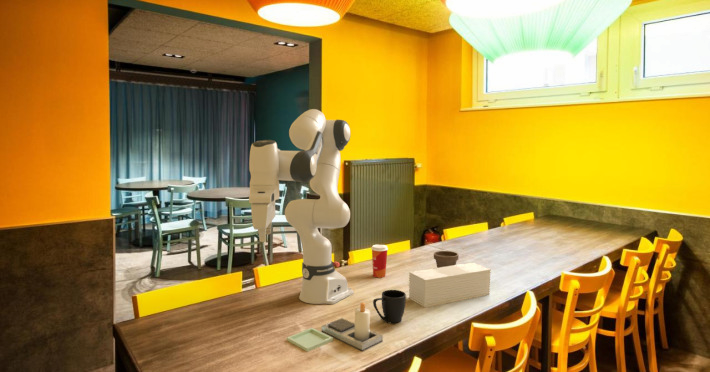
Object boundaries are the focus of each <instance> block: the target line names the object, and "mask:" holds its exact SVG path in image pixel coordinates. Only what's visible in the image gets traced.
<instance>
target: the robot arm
mask: <svg viewBox="0 0 710 372" xmlns="http://www.w3.org/2000/svg"><path fill="white" fill-rule="evenodd" d="M325 116H326V115H325V114H324V112H322V111H320V110H319V109H316V108H312V109H311V108H310V109H308V110H306V111H304V112H303V113H301V114H300V115H299V116H298V117H297V118H296V119H295V120H294V121H293V122H292V123H291V125H290V128H289V130H288V134H289V135H288V136H289V139H290V141H291V143H292V144H293V145H294V146H295V147H296V148H297V149H299V150H281V149H280V148H278V144H277V142H276V141H275V140H272V139H263V140H257V141H254V142H252V143H251V146H250V151H249V160H248V161H249V167H248V170H249V172H250V179H249V180H250V181H249V197H248V203H249V204H251V205H250V210H251V221H252V226H253V229H254V230H257V232H258V233H257V234H258V238H259V242H260V243H265V242H266V241H267V235H271V234H272V224H273V220H274V218H275V217H276V201H277V200H279V199H280V181H286V182H287V181H289V182H290V181H291V182H299V183H308V182H309V187H310V189H311V190H312V191H313V192H314V193H316V195H319V196H320V198H318V199H313V198H312V199H310V198H299V199H294V200H290V201H289V202H288V203H287V205H286V207H285V210H284V217H285V219H286V222H287V223H288V224H289V225H291V227H292V228H294V229H295V231H296V233H297V234H298V237H299V238H300V241H301V245H302V259H303V262H302V264H301V273H302V281H301V289H300V292H299V296H298V299H299V300H300V302H301V301H302V302H303V303H307V304H315V305H319V304H320V305H321V304H328V305H334V304H336V303H339V302H340V301H342V300H343V299H346V298H348V297H349V296H351V295H353V294H354V292H355V291H354V289H353V288H351V287H349V286H348V285H349V284H348V279H347V278H346V277H345V276H344V275H342V274H341V273H340V272H339V271H337V270H336V268H339V267H340V266H341V264H340V262H338V261H333V260H332V251H333V250H332V243H331V241H330V240H329V239H328V238H327V237H325V236H324V235H322V233H320V231H319V229H328V230H329V229H333V230H334V229H341V228H344V227H346V226H347V225H348V223H349V222H350V218H351V210H350V208H349V206H348V204H347V203H346V202H345V201H344V200H343V199H342V198H341V196H340V195H339V191H338V184H339V177H340V172H341V161H342V160H341V151H344V149H345V147H346V146H347V145H348V143H349V142H350V139H351V128H350V125H349V123H348V122H347V121H346V120H343V119H326V117H325ZM335 267H336V268H335Z"/></svg>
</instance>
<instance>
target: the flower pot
mask: <svg viewBox="0 0 710 372" xmlns="http://www.w3.org/2000/svg"><path fill="white" fill-rule="evenodd" d="M433 259H434V260H435V263H436V268H440V267H446V266H453V265H457V261H459V253H458V252H456V251H450V250H439V251H435V252H433Z"/></svg>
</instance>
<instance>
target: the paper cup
mask: <svg viewBox="0 0 710 372" xmlns="http://www.w3.org/2000/svg"><path fill="white" fill-rule="evenodd" d="M370 249H371V254H372V255H371V259H372V262H371V263H372V277H373V278H376V277H378V279H383V278H385V277H386V273H387V272H386V271H387V259H388V258H387V257H388V250H389V248H388V245H385V244H373V245H372V246H371V248H370ZM382 277H383V278H382Z"/></svg>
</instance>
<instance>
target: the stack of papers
mask: <svg viewBox="0 0 710 372" xmlns="http://www.w3.org/2000/svg"><path fill="white" fill-rule="evenodd" d="M491 272H492V271H491V269H490V268H488V267H485V266H483V265H480V264H478V263H475V262H468V263H467V262H466V263H461V264H456V265H453V266H446V267H440V268H437V267H434V268H427V269H421V270H414V271H409V272H408V273H409V274H408V275H409V277H408V281H409V282H408V299H410V300H412V301H414V302H415V303H417V304H418V305H420V306H422V308H423V307H424V308H428V307H433V306H439V305H443V304H449V303H453V302H460V301H464V300H467V299H468V298H469V299H474V298H478V296H479V297H483V295H484V296H488V295H487V294H489V295H490V293H491V292H490V290H491ZM473 297H474V298H473ZM469 299H468V300H469Z"/></svg>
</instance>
